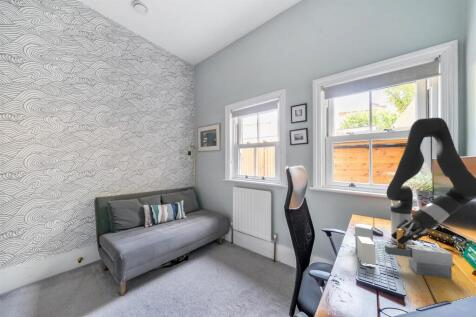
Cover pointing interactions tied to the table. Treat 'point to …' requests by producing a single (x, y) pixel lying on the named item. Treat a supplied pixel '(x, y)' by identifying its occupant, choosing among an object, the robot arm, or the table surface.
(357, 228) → the supplement box
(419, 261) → the grey sleeve
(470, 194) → the robot arm
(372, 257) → the socket block
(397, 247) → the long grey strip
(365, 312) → the table surface
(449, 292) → the table surface
